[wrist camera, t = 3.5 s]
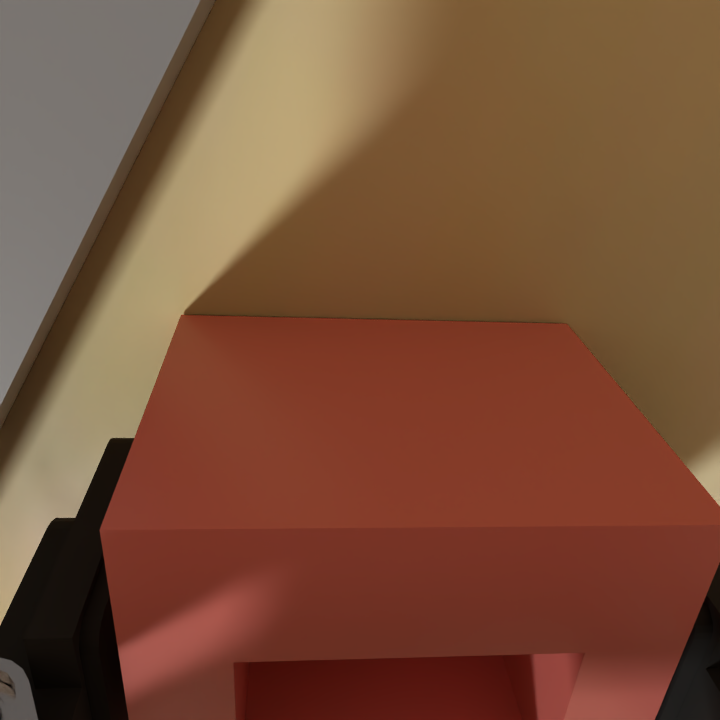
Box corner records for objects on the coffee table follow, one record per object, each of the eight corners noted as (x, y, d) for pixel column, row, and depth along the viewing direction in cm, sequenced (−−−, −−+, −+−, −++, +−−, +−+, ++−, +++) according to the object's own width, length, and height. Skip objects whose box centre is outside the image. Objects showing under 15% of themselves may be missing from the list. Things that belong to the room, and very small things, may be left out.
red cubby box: (566, 323, 11) (749, 541, 7) (506, 596, 14) (603, 878, 10) (181, 314, 11) (93, 549, 6) (200, 602, 14) (151, 905, 9)
